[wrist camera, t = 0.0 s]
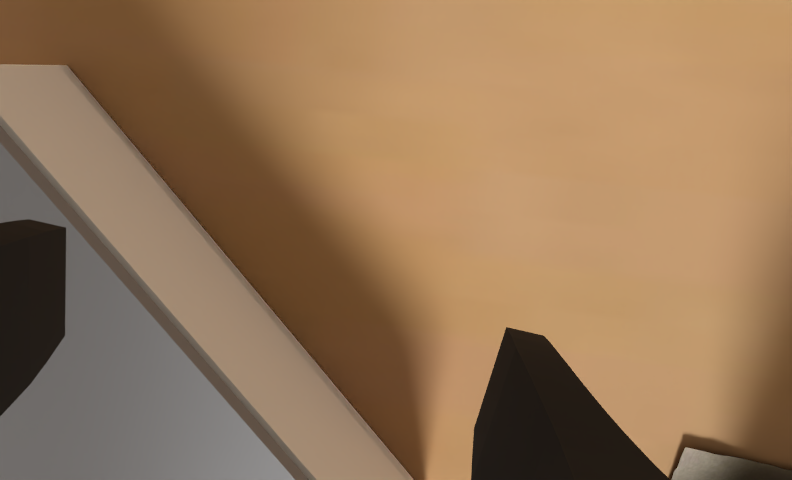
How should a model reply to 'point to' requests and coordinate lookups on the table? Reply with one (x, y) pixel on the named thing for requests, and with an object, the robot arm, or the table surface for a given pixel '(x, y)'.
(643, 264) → the table surface
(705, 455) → the condiment
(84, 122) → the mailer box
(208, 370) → the lid
